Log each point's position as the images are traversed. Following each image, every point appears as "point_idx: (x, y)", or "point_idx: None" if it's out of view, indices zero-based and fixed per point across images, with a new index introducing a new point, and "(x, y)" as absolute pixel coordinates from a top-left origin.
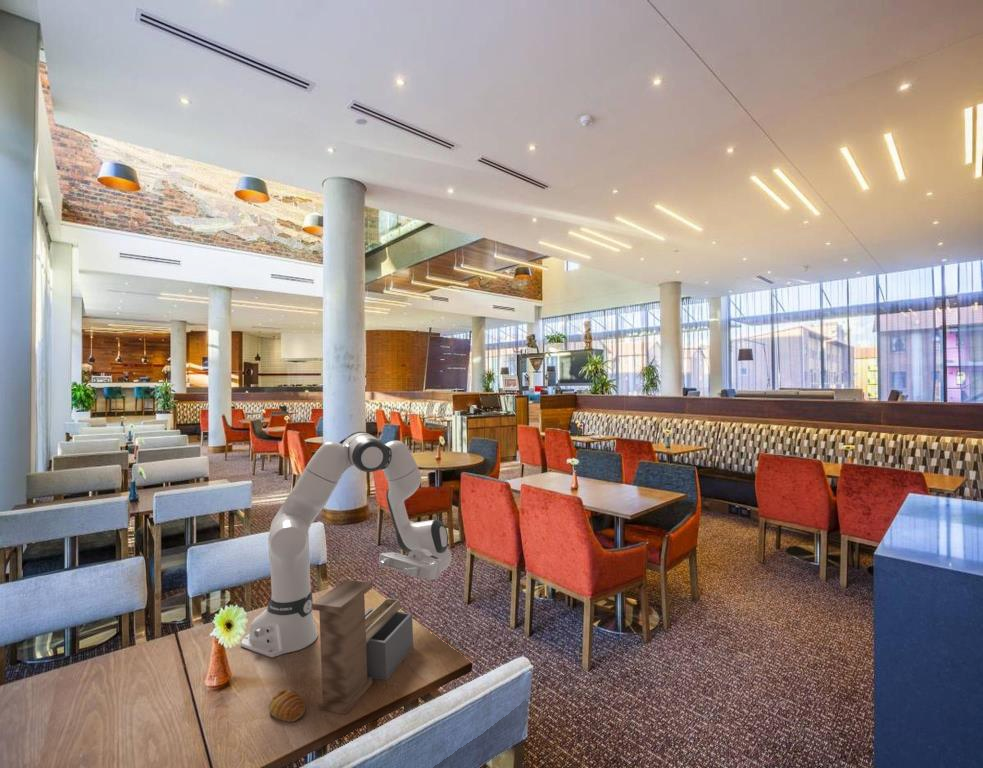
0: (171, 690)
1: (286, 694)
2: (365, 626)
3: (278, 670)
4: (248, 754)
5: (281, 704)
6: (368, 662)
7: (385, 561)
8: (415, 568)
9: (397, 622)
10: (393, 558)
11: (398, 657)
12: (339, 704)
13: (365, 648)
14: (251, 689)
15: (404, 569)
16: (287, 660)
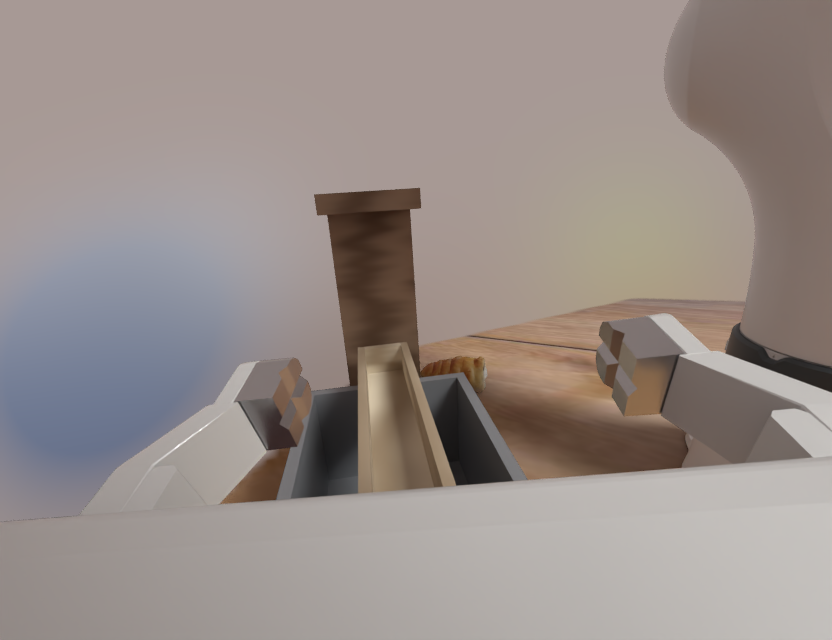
0: None
1: (464, 360)
2: (410, 395)
3: (605, 419)
4: (432, 346)
5: (455, 357)
6: None
7: (624, 338)
8: (146, 449)
9: None
10: (747, 466)
11: None
12: None
13: (348, 366)
14: (573, 382)
15: (286, 360)
16: (641, 443)
